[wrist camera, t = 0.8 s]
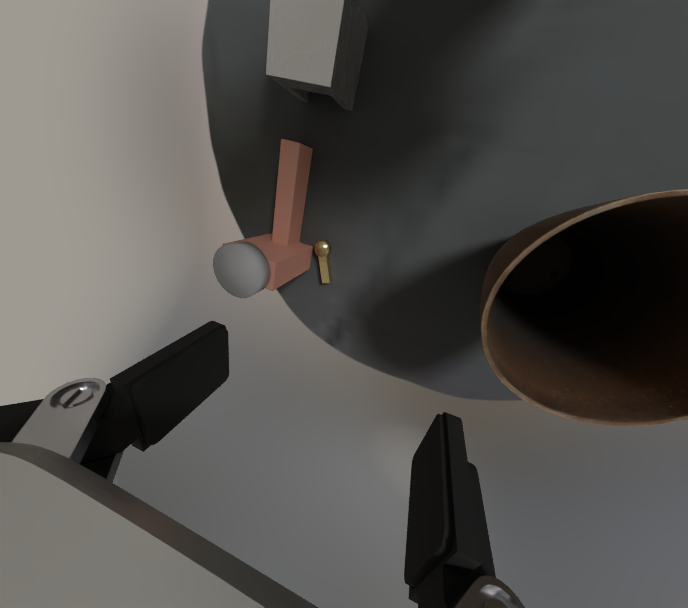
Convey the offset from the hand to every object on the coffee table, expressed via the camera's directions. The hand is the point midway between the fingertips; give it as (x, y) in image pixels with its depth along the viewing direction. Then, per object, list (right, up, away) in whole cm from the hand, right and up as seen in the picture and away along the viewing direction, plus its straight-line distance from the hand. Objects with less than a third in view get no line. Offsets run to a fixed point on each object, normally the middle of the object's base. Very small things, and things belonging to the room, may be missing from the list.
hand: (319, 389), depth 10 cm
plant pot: (+22, +8, +18) cm, 30 cm away
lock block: (0, +30, +17) cm, 34 cm away
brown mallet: (-6, +16, +24) cm, 30 cm away
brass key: (-2, +9, +26) cm, 28 cm away
